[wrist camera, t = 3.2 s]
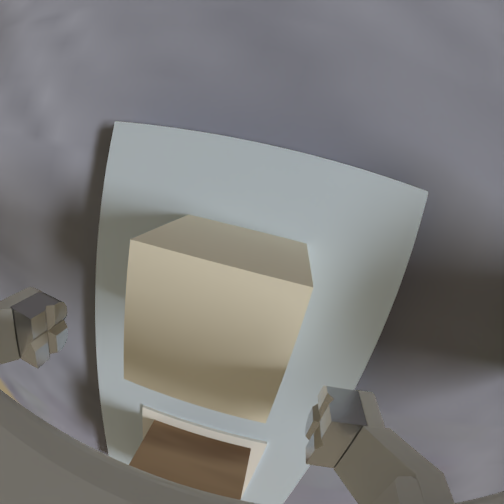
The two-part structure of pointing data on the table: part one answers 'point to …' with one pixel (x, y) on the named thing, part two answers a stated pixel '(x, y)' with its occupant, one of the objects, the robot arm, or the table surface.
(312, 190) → the board
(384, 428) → the robot arm
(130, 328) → the cream block
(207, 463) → the walnut base block
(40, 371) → the table surface
